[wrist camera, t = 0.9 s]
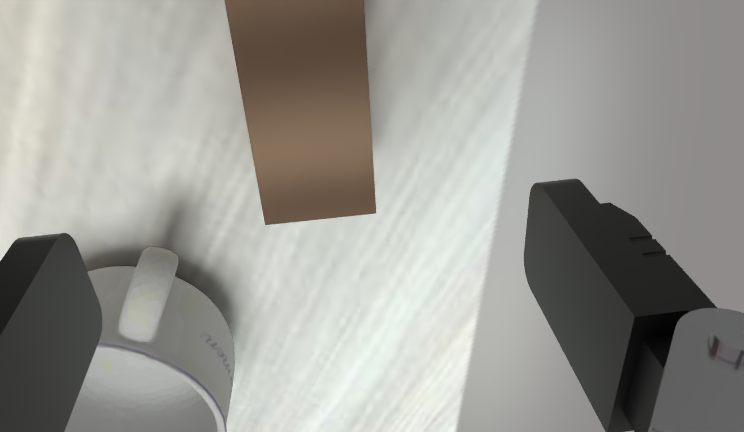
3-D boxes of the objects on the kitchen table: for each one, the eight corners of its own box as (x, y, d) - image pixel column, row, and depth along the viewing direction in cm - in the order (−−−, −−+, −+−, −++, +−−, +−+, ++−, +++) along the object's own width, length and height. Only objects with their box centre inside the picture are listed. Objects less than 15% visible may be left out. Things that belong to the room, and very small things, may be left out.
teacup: (188, 404, 37) (165, 529, 31) (5, 344, 33) (-67, 472, 27) (304, 247, 32) (307, 357, 25) (103, 151, 28) (44, 252, 21)
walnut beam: (213, -190, 22) (189, -197, 17) (337, -198, 22) (351, -206, 17) (269, 157, 29) (265, 224, 24) (361, 148, 29) (376, 213, 24)
